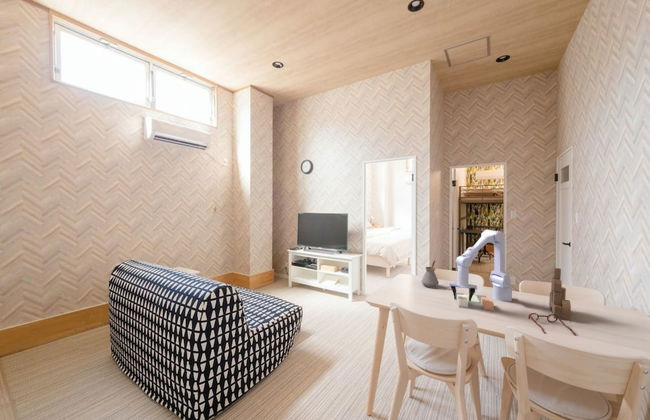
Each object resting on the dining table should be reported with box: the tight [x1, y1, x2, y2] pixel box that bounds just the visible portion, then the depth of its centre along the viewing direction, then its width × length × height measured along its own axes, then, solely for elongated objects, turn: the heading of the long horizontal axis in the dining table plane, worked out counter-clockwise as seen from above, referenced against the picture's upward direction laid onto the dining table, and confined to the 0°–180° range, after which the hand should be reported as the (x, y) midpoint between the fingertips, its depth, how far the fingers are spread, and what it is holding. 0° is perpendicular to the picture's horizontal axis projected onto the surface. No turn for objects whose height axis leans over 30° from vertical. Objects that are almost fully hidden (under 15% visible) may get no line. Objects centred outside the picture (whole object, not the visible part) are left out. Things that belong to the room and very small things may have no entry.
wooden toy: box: [548, 267, 572, 321], centre depth 141 cm, size 16×7×25 cm, turn 148°
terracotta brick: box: [481, 296, 495, 310], centre depth 149 cm, size 4×8×4 cm, turn 160°
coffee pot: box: [421, 259, 440, 288], centre depth 190 cm, size 21×12×15 cm, turn 146°
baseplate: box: [455, 292, 496, 313], centre depth 157 cm, size 18×24×1 cm
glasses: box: [527, 312, 577, 337], centre depth 128 cm, size 13×13×5 cm
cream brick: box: [456, 294, 468, 307], centre depth 153 cm, size 4×8×4 cm, turn 160°
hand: (462, 299), depth 153 cm, fingers open, 7 cm apart
